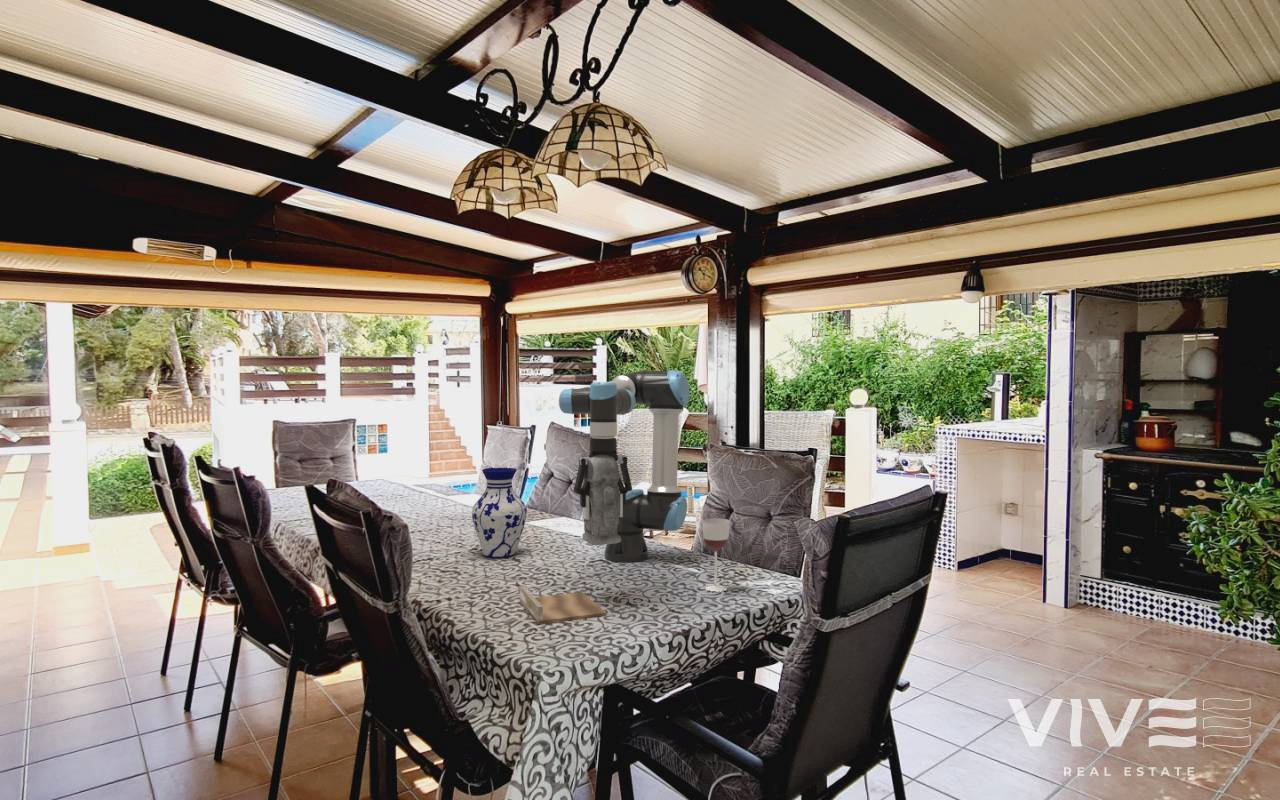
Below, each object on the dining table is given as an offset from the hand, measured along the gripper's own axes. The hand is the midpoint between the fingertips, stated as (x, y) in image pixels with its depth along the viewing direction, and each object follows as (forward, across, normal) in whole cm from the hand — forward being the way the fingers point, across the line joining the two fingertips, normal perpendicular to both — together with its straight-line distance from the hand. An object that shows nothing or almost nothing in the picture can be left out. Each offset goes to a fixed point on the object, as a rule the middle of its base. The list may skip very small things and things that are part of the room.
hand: (603, 517), depth 202 cm
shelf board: (+23, +13, +5) cm, 27 cm away
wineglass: (+23, -34, +4) cm, 41 cm away
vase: (+23, +16, -62) cm, 68 cm away
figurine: (+7, 0, 0) cm, 7 cm away
